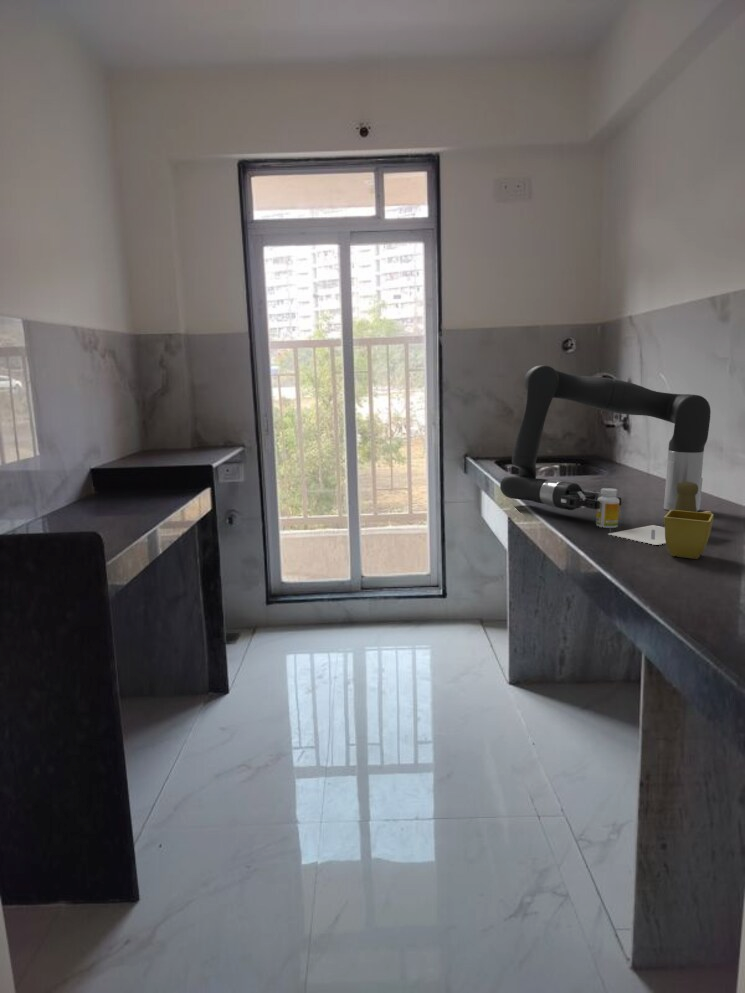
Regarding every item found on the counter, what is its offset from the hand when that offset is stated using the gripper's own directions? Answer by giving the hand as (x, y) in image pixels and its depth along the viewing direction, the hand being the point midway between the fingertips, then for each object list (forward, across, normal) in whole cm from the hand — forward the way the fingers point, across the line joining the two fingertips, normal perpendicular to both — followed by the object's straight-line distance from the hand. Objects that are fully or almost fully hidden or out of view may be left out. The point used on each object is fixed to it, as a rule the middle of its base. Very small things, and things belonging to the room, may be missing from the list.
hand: (609, 503), depth 168 cm
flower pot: (+28, -10, +6) cm, 30 cm away
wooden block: (+20, +8, +6) cm, 22 cm away
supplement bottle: (0, 0, +6) cm, 6 cm away
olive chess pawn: (+8, +20, +6) cm, 23 cm away
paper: (+12, +1, +6) cm, 14 cm away
